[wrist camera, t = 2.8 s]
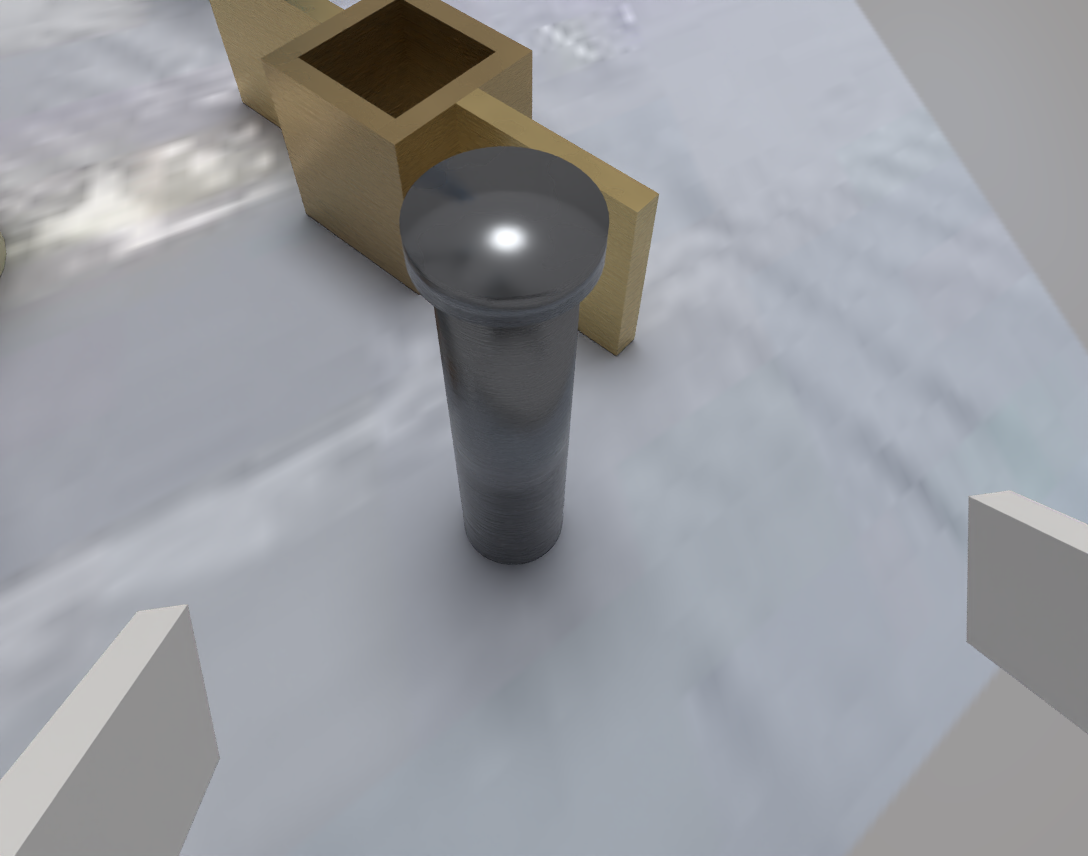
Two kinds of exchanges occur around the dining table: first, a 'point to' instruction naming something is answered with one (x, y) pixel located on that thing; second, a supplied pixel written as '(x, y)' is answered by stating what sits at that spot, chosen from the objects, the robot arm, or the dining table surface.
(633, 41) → the dining table surface
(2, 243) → the reusable coffee cup
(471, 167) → the hinge pin
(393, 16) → the tan plate
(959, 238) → the dining table surface
